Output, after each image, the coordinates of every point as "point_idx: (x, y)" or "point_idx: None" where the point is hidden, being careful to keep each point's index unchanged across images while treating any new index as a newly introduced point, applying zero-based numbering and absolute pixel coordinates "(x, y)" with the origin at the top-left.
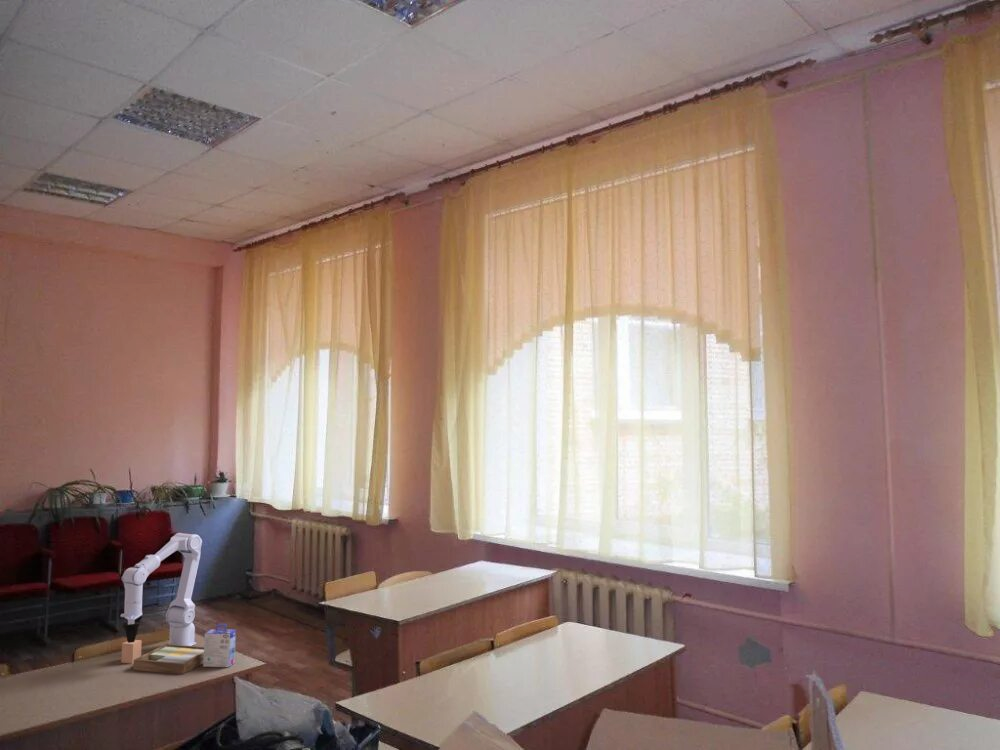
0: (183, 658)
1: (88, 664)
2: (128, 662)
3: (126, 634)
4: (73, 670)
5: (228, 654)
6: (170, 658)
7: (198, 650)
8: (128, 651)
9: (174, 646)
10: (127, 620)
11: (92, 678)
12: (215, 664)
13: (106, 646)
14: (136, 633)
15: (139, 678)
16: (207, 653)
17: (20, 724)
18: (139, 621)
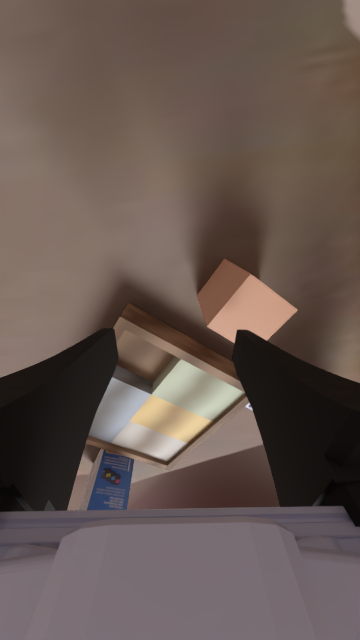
0: (113, 426)
1: (272, 102)
2: (206, 283)
3: (57, 355)
4: (210, 7)
5: (82, 497)
6: (121, 404)
7: (169, 447)
8: (215, 294)
9: (229, 408)
10: (315, 402)
11: (61, 155)
12: (98, 456)
13: None
14: (236, 367)
15: (45, 324)
16: (94, 475)
17: None
18: (268, 455)
